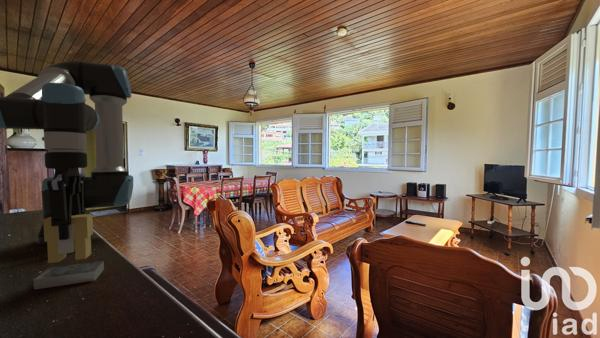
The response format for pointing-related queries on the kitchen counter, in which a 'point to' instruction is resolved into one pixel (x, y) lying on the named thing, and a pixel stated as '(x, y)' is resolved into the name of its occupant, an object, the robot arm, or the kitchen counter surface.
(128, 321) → the kitchen counter surface
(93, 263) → the grey flat frame
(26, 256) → the kitchen counter surface
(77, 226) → the yellow notched block
